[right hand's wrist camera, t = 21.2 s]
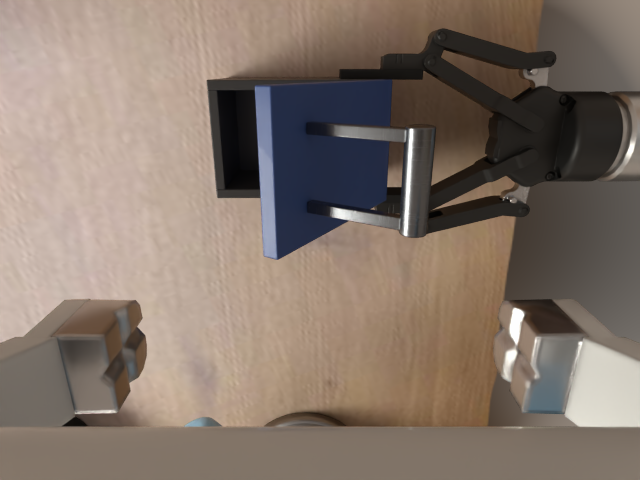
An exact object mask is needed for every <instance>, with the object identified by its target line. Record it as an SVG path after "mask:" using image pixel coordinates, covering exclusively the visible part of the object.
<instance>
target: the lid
mask: <svg viewBox="0 0 640 480" xmlns="http://www.w3.org/2000/svg"><path fill="white" fill-rule="evenodd" d="M391 97H392V80H389V79H379V80H357V81H335V82H313V83H292V84H270V85H256V86H255V101H256V120H257V139H258V158H259V177H260V196H261V215H262V234H263V253H264V256H265V257H269V258H272V259H276V260H278V259H280V258H282V257H284V256H286V255H287V254H289V253H291V252H293V251H295V250H297V249H298V248H300V247H302V246H304V245H306V244H307V243H309V242H311V241H313V240H315V239H317V238H318V237H320V236H322V235H324V234H326V233H327V232H329V231H331V230H333V229H335V228H337V227H338V226H340V225H342V224H344V223H346V222H348V221H353V222H358V223H364V224H369V225H374V226H380V227H385V228H390V229H395V230H399V233H400V234H401V235H403V236H406V237H411V238H419V237H424V236H426V234H427V227H428V216H429V204H430V192H431V181H432V169H433V158H434V146H435V134H436V127H435V126H433V125H423V124H414V125H407V126H406V127H393V126H390V116H391ZM389 142H401V143H404V156H403V172H402V188H401V205H400V214H394V213H389V212H383V211H377V210H371V208H373V207H375V206H377V205H378V204H380V203H382V202H384V201H386V196H387V176H388V156H389Z"/></svg>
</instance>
